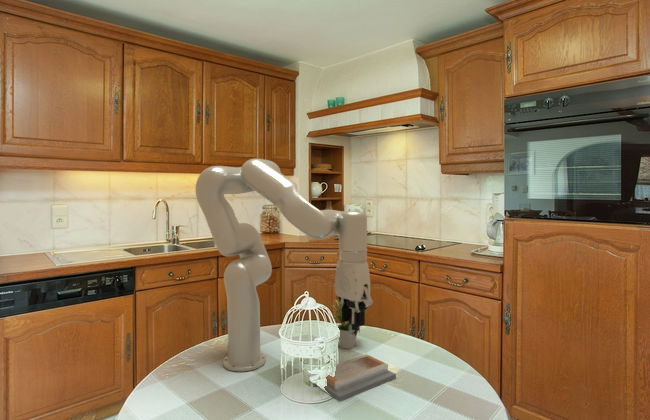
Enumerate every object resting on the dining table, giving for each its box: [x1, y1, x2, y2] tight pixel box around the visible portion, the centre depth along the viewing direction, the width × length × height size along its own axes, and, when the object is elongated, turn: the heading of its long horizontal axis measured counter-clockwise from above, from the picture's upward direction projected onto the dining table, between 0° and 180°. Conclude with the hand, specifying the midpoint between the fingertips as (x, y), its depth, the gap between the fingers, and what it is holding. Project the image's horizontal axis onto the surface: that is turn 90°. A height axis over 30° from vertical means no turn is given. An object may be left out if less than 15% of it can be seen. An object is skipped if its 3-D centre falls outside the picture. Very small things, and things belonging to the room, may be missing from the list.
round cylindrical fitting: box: [346, 299, 362, 336], centre depth 107 cm, size 7×5×10 cm
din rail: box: [326, 353, 389, 392], centre depth 108 cm, size 9×18×2 cm, turn 127°
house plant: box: [331, 299, 358, 349], centre depth 131 cm, size 14×14×16 cm
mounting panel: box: [324, 369, 397, 402], centre depth 108 cm, size 13×20×1 cm, turn 127°
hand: (353, 322), depth 107 cm, fingers closed on round cylindrical fitting, 4 cm apart
